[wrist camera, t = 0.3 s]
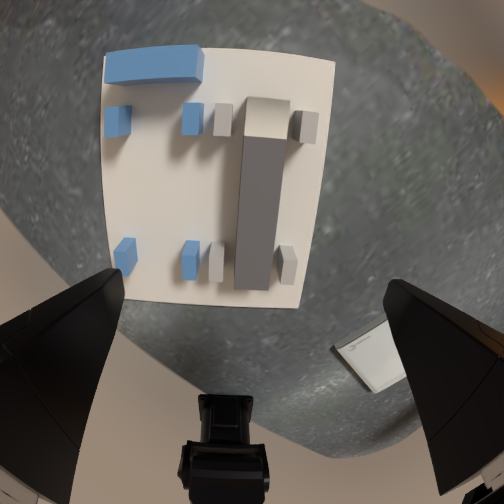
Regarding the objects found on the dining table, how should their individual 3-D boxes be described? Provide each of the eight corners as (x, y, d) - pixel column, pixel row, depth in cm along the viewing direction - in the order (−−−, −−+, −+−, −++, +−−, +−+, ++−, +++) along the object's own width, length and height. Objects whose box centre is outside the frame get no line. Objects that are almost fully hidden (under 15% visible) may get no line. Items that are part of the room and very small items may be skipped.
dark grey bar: (265, 272, 23) (268, 290, 21) (234, 271, 23) (233, 289, 21) (284, 101, 17) (290, 100, 15) (246, 98, 17) (247, 96, 15)
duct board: (297, 305, 26) (305, 332, 22) (119, 295, 24) (106, 320, 21) (333, 62, 16) (352, 55, 13) (106, 57, 15) (83, 50, 12)
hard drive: (336, 350, 27) (374, 395, 32) (405, 307, 25) (428, 363, 30) (332, 339, 29) (371, 386, 34) (399, 297, 27) (423, 354, 32)
